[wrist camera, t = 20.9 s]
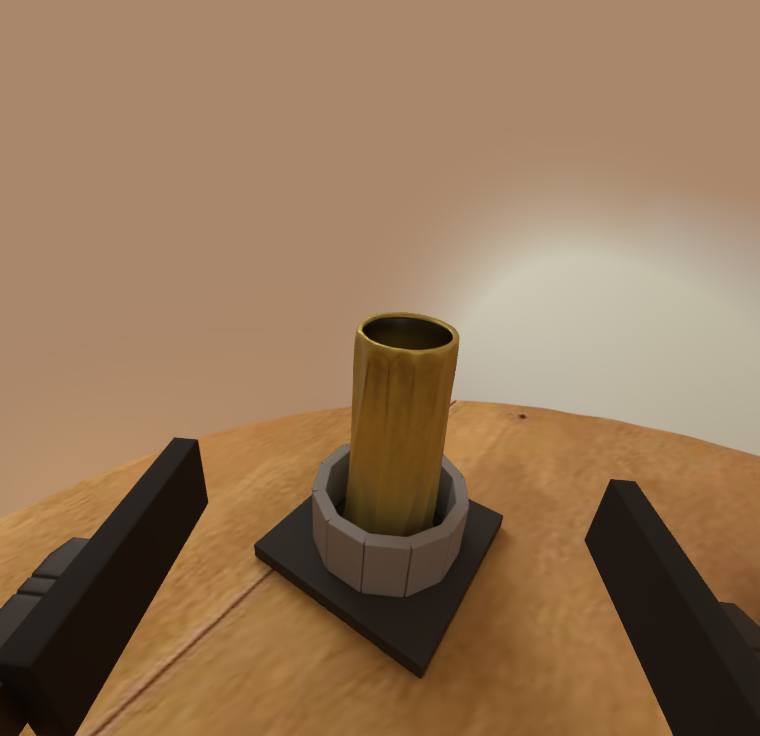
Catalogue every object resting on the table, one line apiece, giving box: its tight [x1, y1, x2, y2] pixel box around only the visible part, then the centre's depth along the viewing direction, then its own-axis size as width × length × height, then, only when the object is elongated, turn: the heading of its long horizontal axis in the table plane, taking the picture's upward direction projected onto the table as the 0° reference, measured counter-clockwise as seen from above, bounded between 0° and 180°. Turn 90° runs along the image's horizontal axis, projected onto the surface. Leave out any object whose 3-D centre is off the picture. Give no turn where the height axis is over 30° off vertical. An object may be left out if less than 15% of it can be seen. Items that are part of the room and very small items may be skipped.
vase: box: [342, 312, 459, 537], centre depth 24 cm, size 6×6×14 cm
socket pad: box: [254, 443, 503, 678], centre depth 27 cm, size 12×12×5 cm
